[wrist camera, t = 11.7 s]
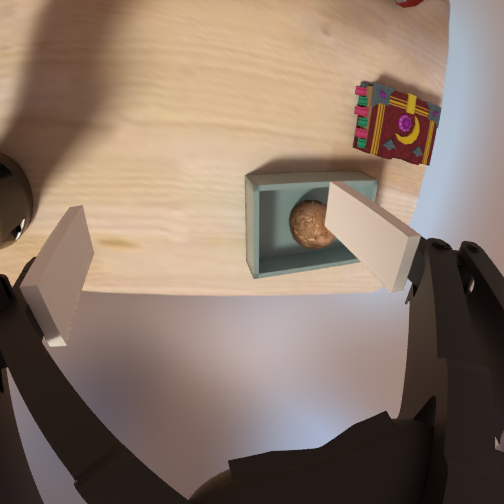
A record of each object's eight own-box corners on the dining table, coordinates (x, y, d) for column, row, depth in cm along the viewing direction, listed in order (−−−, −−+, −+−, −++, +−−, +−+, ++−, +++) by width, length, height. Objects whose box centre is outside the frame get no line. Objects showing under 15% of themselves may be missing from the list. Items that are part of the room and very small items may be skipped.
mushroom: (351, 210, 44) (346, 231, 40) (325, 242, 50) (316, 264, 45) (309, 181, 44) (298, 199, 40) (286, 216, 50) (273, 236, 45)
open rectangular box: (246, 261, 49) (253, 278, 45) (245, 175, 42) (253, 185, 38) (350, 247, 53) (363, 261, 49) (361, 171, 46) (378, 180, 41)
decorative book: (414, 160, 47) (431, 168, 43) (343, 147, 43) (361, 154, 39) (424, 103, 42) (443, 107, 37) (353, 79, 38) (372, 80, 33)
